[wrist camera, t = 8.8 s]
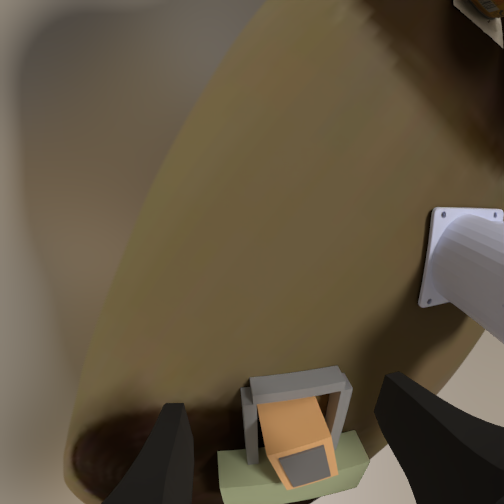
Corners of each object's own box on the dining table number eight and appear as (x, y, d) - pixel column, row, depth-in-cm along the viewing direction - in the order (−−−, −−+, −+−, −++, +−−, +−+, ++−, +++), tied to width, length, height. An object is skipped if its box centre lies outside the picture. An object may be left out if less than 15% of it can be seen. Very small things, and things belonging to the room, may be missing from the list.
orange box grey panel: (308, 381, 23) (332, 438, 17) (320, 426, 25) (339, 476, 19) (255, 397, 22) (267, 458, 17) (275, 440, 25) (287, 492, 19)
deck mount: (375, 357, 23) (400, 391, 18) (344, 458, 28) (356, 487, 23) (203, 380, 21) (203, 425, 17) (223, 477, 26) (226, 509, 22)
